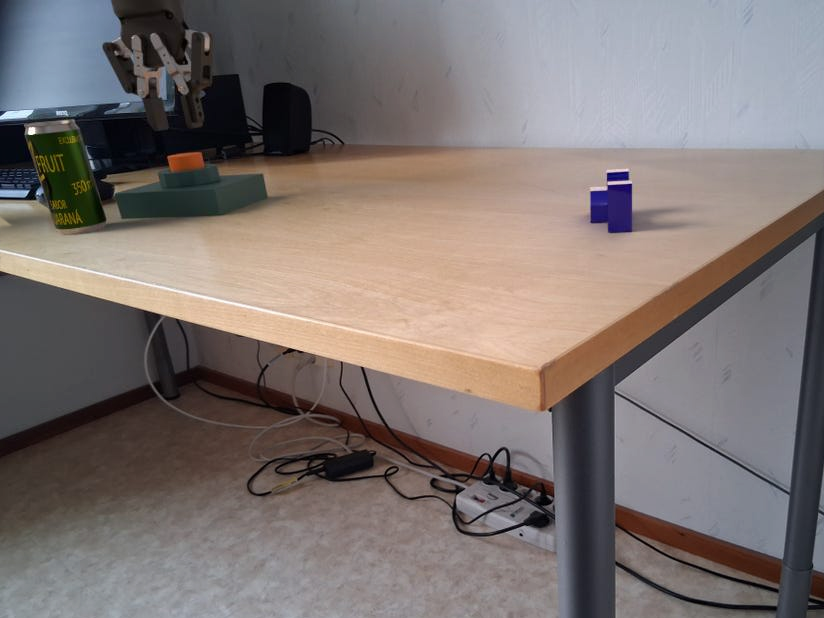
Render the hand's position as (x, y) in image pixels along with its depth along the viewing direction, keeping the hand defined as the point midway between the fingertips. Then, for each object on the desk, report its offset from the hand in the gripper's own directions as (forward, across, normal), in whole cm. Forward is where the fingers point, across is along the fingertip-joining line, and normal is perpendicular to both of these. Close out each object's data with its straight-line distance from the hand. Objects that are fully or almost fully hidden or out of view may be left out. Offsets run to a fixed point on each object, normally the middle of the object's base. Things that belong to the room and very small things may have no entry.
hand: (178, 128), depth 85 cm
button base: (+10, 0, 0) cm, 10 cm away
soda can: (+10, +8, +11) cm, 17 cm away
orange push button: (+5, 0, 0) cm, 5 cm away
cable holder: (+10, -53, +14) cm, 56 cm away
